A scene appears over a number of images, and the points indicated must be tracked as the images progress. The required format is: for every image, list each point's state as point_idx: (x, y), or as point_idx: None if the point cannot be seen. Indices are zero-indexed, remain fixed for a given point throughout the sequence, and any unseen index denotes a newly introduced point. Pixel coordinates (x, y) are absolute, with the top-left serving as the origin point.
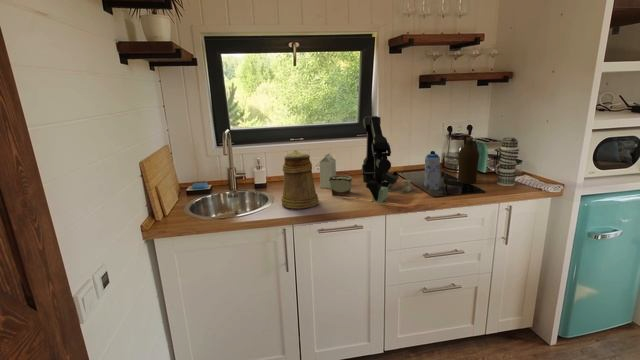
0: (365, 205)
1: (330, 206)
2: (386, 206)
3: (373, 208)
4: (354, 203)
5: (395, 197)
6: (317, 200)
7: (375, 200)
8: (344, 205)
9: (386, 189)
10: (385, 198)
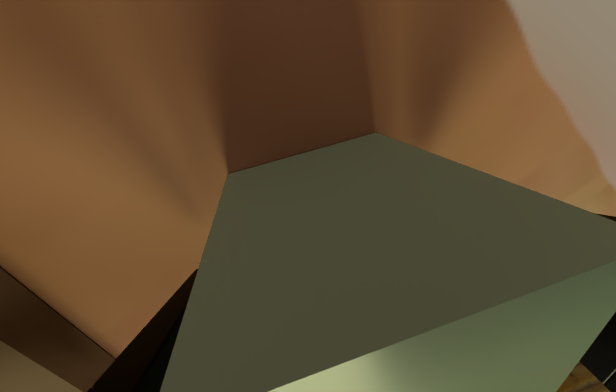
0: None
1: None
2: (458, 13)
3: (556, 107)
4: None
5: (10, 182)
6: (565, 381)
7: None
8: None
9: (322, 307)
10: (319, 167)
